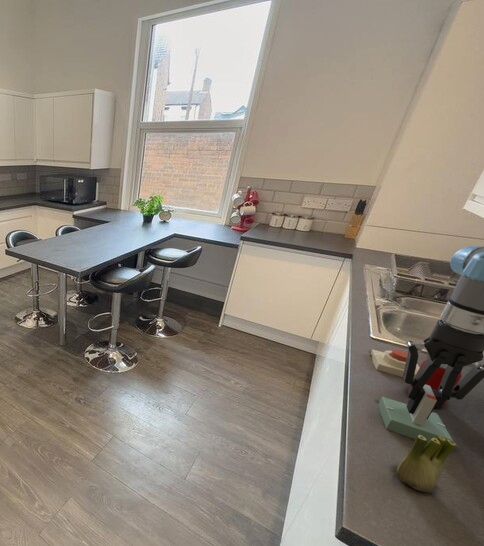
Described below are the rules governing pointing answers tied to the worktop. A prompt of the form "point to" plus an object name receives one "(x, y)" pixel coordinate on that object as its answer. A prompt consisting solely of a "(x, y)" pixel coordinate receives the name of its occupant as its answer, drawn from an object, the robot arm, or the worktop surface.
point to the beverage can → (438, 377)
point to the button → (399, 355)
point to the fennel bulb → (424, 463)
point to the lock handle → (424, 406)
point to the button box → (389, 363)
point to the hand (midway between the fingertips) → (416, 412)
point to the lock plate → (410, 421)
